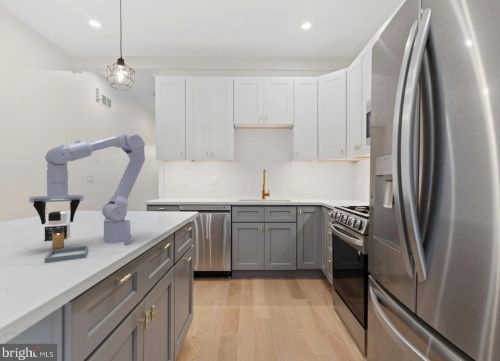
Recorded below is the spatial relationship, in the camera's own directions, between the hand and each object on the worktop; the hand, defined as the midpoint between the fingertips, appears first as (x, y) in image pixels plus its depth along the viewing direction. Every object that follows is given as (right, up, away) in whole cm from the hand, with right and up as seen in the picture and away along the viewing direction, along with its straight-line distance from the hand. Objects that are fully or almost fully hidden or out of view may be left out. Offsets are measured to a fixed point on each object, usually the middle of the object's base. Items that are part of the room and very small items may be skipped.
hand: (58, 222), depth 86 cm
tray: (+8, -10, -7) cm, 15 cm away
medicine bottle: (-12, -10, +16) cm, 23 cm away
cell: (0, -9, 0) cm, 9 cm away
